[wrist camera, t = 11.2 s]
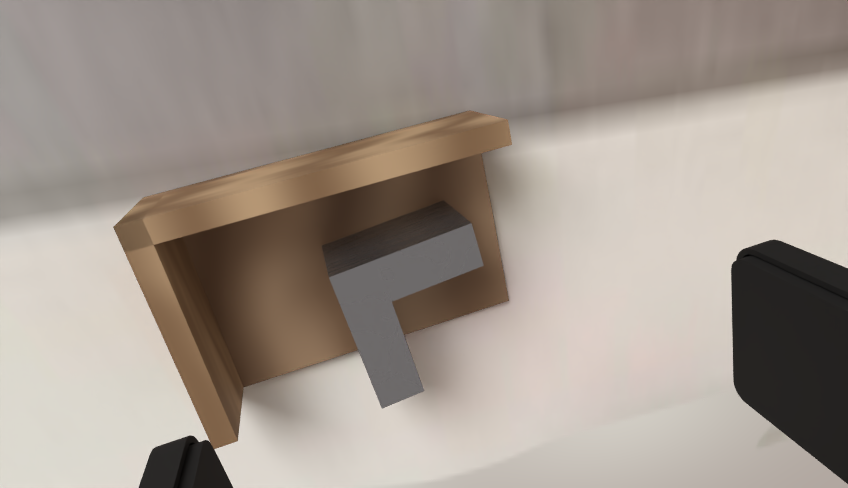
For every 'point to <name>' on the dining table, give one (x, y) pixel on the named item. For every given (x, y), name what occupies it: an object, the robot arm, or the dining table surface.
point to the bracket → (396, 285)
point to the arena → (301, 254)
